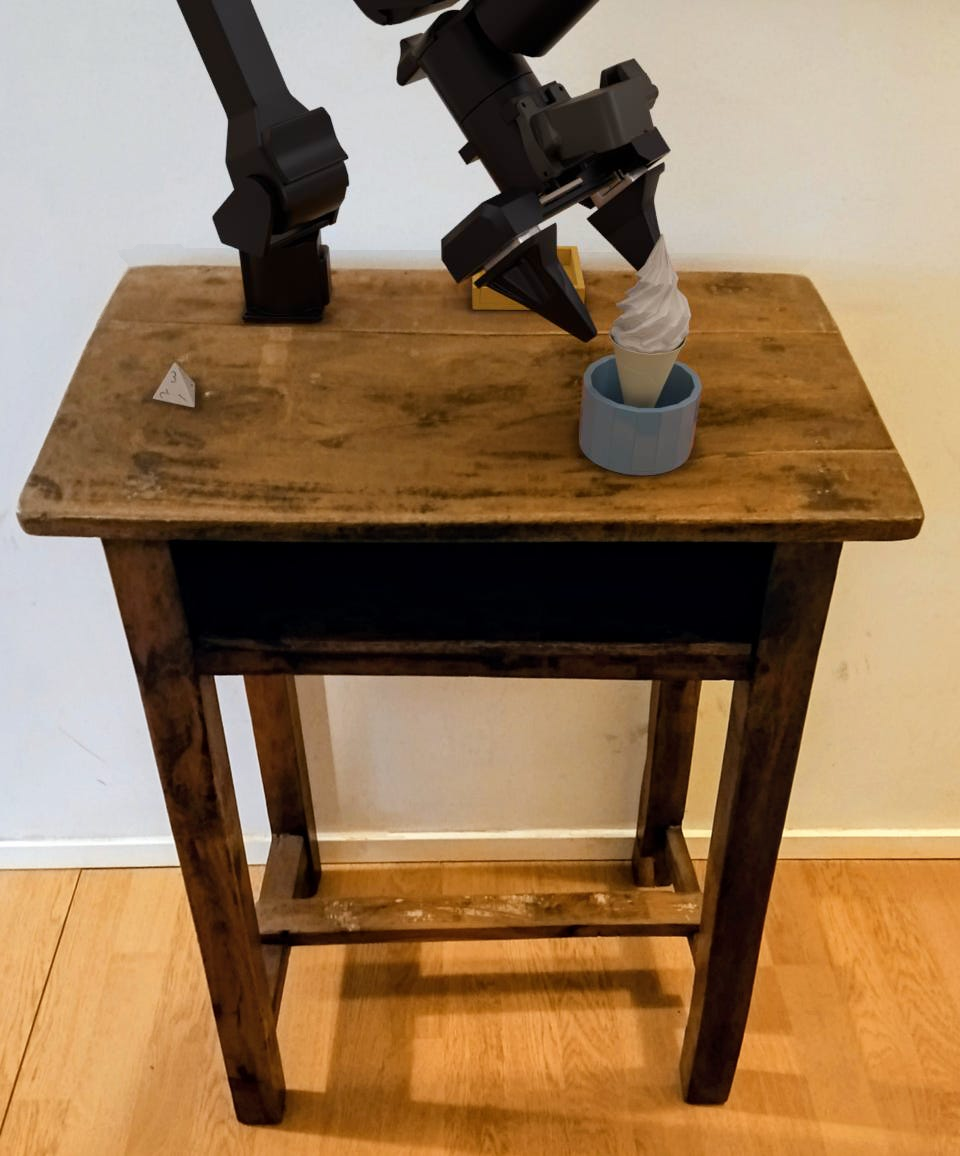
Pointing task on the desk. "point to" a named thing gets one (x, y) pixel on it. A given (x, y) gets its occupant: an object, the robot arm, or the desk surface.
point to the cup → (638, 421)
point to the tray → (497, 301)
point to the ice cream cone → (650, 330)
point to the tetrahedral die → (177, 388)
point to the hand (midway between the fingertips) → (630, 312)
